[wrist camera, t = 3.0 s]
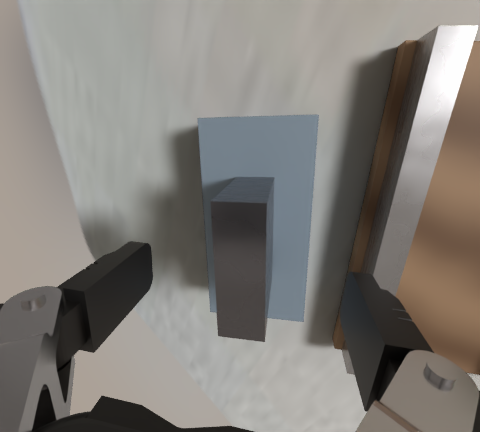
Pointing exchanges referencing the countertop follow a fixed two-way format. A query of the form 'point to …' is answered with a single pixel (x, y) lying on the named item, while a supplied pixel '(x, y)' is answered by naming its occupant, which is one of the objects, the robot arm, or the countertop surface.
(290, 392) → the countertop surface
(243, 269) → the blue block with handle
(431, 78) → the tray
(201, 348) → the countertop surface
